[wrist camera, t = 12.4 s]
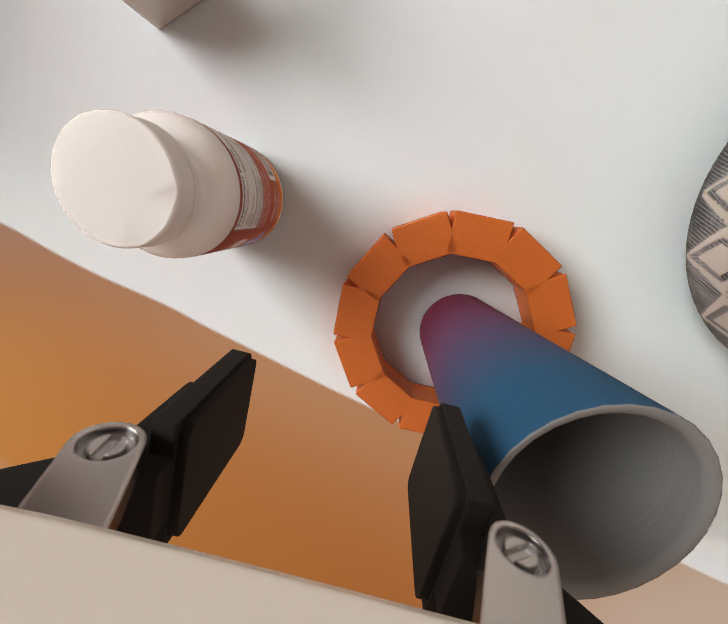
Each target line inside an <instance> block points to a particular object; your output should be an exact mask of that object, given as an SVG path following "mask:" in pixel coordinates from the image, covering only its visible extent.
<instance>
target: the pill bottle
mask: <svg viewBox="0 0 728 624" xmlns="http://www.w3.org/2000/svg"><path fill="white" fill-rule="evenodd" d="M51 176H52V182H53V186H54V190H55V192H56V195H57V198H58V200H59V202H60V204H61V206H62V207H63V209H64V211H65V212H66V214H67V215H68V216H69V218H70V219H71V220H72V221H73V222H74V223H75V224H76V225H77V226H78V227H79V228H80V229H81V230H82V231H83V232H85V233H86V234H87V235H89V236H90V237H92V238H93V239H95V240H97V241H99V242H101V243H104V244H106V245H109V246H112V247H117V248H140V249H141V250H144V251H146V252H148V253H150V254H153V255H156V256H161V257H166V258H187V257H194V256H199V255H204V254H208V253H212V252H217V251H221V250H226V249H231V248H235V247H239V246H244V245H248V244H252V243H254V242H257V241H259V240H261V239H263V238H264V237H266V236H267V235H268V234H269V233H270V232H271V231H272V230H273V229H274V227H275V226H276V224H277V223H278V221H279V219H280V216H281V213H282V209H283V190H282V185H281V182H280V179H279V177H278V174H277V172H276V170H275V169H274V167H273V166H272V165H271V163H270V162H269V161H268V160H267V159H266V158H265V157H264V156H263V155H262V154H260V153H259V152H258V151H256V150H254V149H253V148H251V147H249V146H247V145H245V144H243V143H241V142H239V141H237V140H235V139H233V138H231V137H229V136H226V135H224V134H222V133H220V132H218V131H216V130H214V129H212V128H210V127H208V126H206V125H203V124H201V123H199V122H198V121H195V120H193V119H191V118H188V117H186V116H183V115H180V114H177V113H174V112H169V111H162V110H151V111H144V112H139V113H136V114H133V115H130V114H127V113H123V112H120V111H115V110H105V109H100V110H93V111H89V112H86V113H83V114H81V115H78V116H77V117H75V118H74V119H72V120H71V121H70V122H69V123H67V125H66V126H65V127H64V128H63V129H62V131H61V132H60V134H59V136H58V137H57V139H56V141H55V144H54V147H53V151H52V156H51Z"/></svg>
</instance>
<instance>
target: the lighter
mask: <svg viewBox="0 0 728 624" xmlns="http://www.w3.org/2000/svg"><path fill="white" fill-rule="evenodd" d="M122 1H124V2H125V3H126V4H127V5H129V6H130V7H131V8H132V9H134V10H135V11H136V12H137V13H139V14H140V15H141V16H142V17H144V18H145V19H146V20H148V21H149V22H150V23H151V24H153V25H154V26H155V27H157V28H159V29H160V28H162V27H163V26H165V25H166V24H168V23H169V22H171V21H172V20H174V19H175V18H177V17H178V16H179V15H181V14H182V13H184V12H185V11H187V10H188V9H190V8H191V7H193V6H194V5H196V4H197V3H199V2H200V1H202V0H122Z"/></svg>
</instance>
